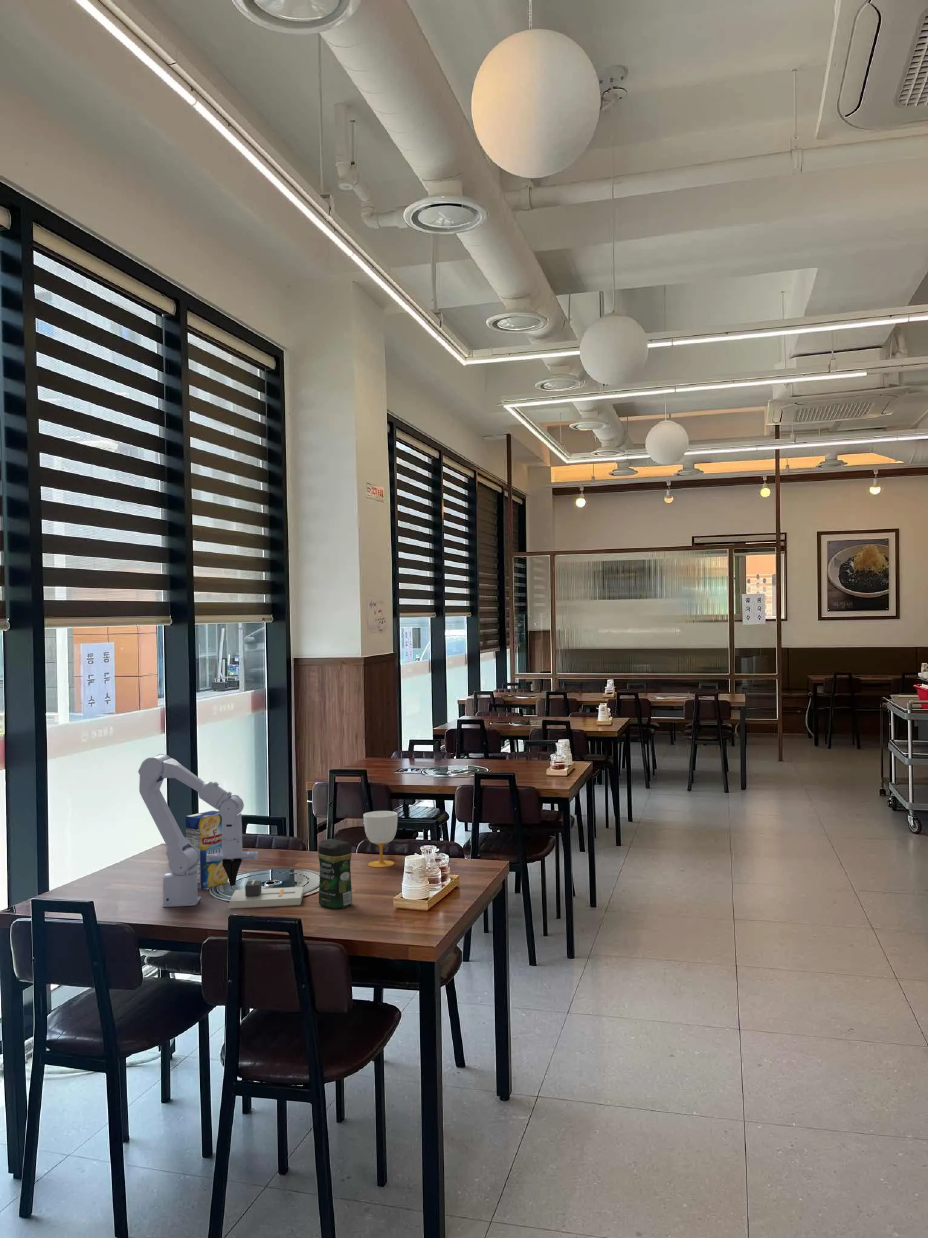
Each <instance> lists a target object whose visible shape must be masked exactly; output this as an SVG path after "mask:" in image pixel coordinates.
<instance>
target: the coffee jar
mask: <svg viewBox="0 0 928 1238" xmlns="http://www.w3.org/2000/svg"><path fill="white" fill-rule="evenodd" d="M352 850H353V849H352V844H351V843H349V841H343V840H338V839H334V838H329V839H322V840H321V841H320V842H319V844H318V851H317V857H318V860H319V861H318V863H319V886H318V904H319V905H320V906H322V907H326V908H328V909H329V908H330V909H333V910H334V909H344V908H347V907H349V906H351V904H353V888H352V877H351V876H352V875H351V872H352V871H351V860H352V856H353V852H352Z"/></svg>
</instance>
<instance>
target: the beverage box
mask: <svg viewBox="0 0 928 1238" xmlns="http://www.w3.org/2000/svg"><path fill="white" fill-rule="evenodd" d="M184 819H185V838H187V839H188V840H189V841H190V843H191V844H192V846H194V847H195V848H196V849H197V850H198V851H199V854H200V859H199V861H198V863H197V864H196V868H197V891H202V890H205V889H208V888H212V887H215V886H219V885H223V884H225V883H224V882H226V883H228V882H229V879H228V876H227V873H226V871H225V869H224V867H223V865H222V863H223V861H210V862H206V855H207V854H213V853H222V816H221V815H220V814H219V810H209V811H204V812H199V813H195V814H190V815H185V818H184ZM222 883H223V884H222Z"/></svg>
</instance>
